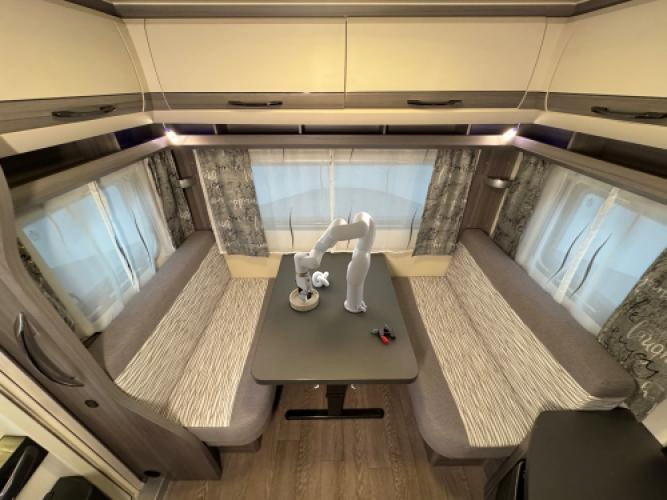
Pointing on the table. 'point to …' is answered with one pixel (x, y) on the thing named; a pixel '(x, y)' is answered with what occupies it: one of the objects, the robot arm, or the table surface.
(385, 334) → the toy gun
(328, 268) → the table surface
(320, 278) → the white knot sculpture
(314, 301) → the bowl
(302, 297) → the game controller
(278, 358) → the table surface
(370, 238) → the robot arm
